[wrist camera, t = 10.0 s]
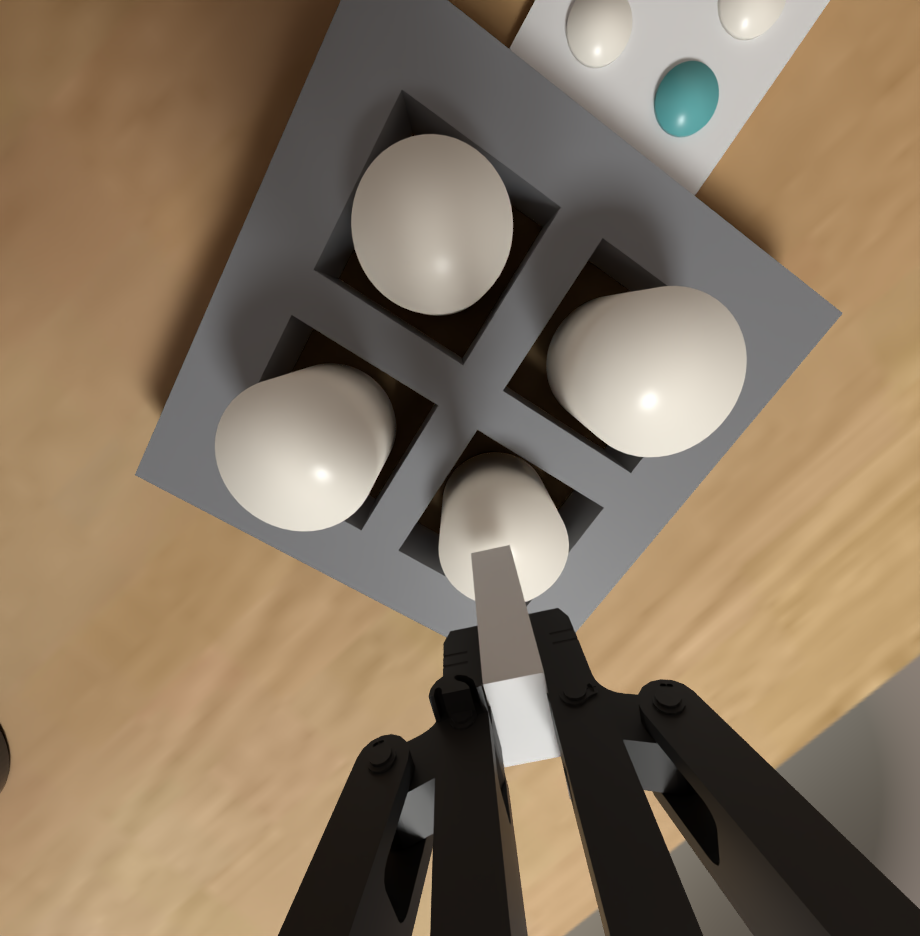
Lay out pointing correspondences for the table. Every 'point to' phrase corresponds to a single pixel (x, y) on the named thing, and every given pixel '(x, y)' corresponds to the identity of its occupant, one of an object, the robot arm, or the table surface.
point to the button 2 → (432, 224)
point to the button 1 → (306, 445)
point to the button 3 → (501, 522)
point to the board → (506, 328)
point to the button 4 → (649, 368)
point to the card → (667, 68)
